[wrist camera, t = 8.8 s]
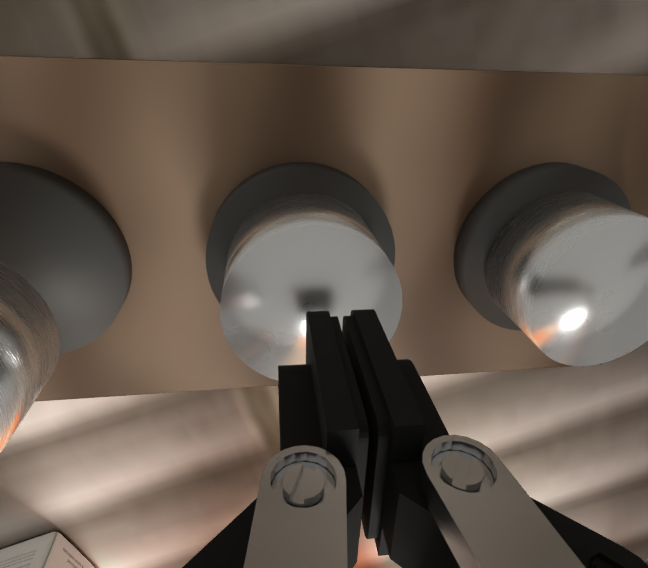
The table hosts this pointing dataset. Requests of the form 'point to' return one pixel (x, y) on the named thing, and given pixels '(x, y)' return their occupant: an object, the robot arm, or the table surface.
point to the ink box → (43, 554)
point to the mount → (279, 180)
